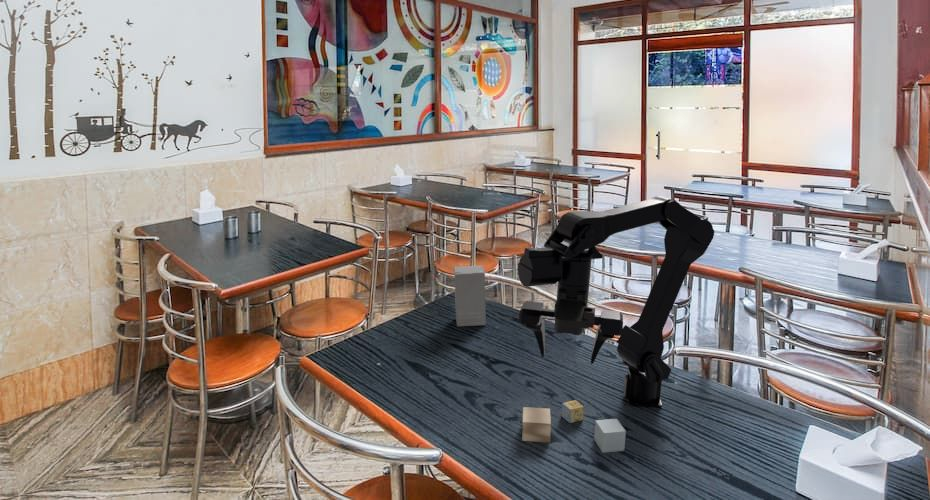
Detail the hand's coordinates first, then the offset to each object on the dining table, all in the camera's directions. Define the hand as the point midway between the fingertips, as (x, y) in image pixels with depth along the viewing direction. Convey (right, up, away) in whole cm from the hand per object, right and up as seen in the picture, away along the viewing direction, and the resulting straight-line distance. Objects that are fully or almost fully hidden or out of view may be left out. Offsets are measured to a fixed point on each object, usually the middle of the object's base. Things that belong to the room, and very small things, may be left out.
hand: (567, 359), depth 105 cm
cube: (+6, -14, -6) cm, 17 cm away
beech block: (-6, -13, -3) cm, 15 cm away
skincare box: (-18, +1, +48) cm, 51 cm away
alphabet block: (+1, -12, +2) cm, 12 cm away
